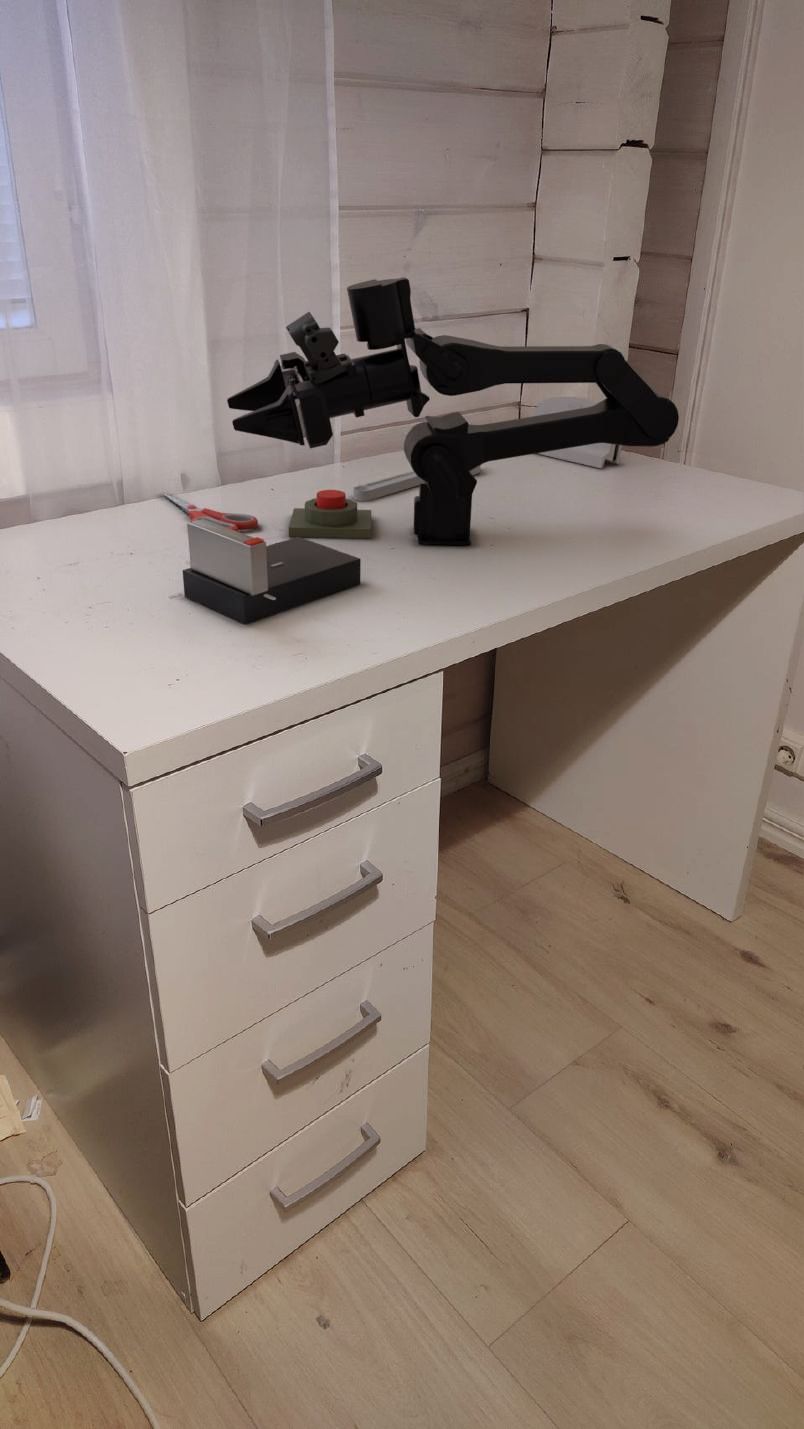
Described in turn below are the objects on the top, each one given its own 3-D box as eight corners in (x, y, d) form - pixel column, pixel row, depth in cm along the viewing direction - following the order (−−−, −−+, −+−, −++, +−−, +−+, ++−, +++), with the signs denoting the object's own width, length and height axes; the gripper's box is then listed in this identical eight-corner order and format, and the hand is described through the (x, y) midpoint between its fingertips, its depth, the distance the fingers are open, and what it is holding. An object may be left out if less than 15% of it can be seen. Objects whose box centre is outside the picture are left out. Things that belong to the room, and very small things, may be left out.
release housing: (371, 518, 131) (371, 496, 129) (370, 538, 124) (370, 514, 122) (294, 517, 130) (293, 494, 129) (288, 536, 123) (288, 513, 122)
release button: (346, 503, 127) (346, 489, 126) (345, 512, 124) (345, 498, 123) (317, 502, 127) (317, 489, 126) (315, 511, 124) (315, 497, 123)
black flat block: (130, 606, 103) (127, 577, 101) (290, 558, 116) (290, 532, 115) (217, 649, 94) (215, 617, 93) (378, 591, 108) (378, 563, 107)
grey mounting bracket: (516, 448, 165) (534, 387, 163) (532, 454, 169) (549, 393, 167) (602, 468, 155) (622, 403, 153) (617, 474, 159) (636, 410, 157)
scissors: (166, 494, 138) (165, 484, 137) (269, 529, 126) (268, 518, 125) (118, 505, 133) (117, 495, 132) (220, 543, 121) (220, 531, 120)
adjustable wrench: (362, 503, 137) (362, 490, 136) (332, 493, 141) (332, 480, 140) (486, 472, 152) (487, 460, 151) (456, 464, 156) (456, 452, 155)
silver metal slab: (190, 569, 104) (186, 520, 101) (206, 565, 105) (202, 516, 103) (252, 595, 98) (250, 544, 95) (268, 590, 99) (266, 539, 97)
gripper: (338, 295, 118) (207, 324, 116) (366, 326, 102) (215, 359, 101) (356, 390, 124) (232, 418, 123) (385, 432, 108) (243, 466, 107)
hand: (230, 414), depth 113 cm, fingers open, 9 cm apart
